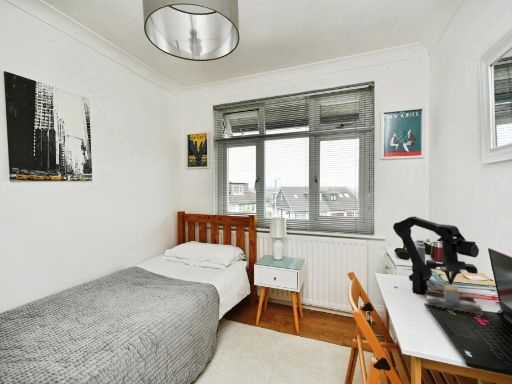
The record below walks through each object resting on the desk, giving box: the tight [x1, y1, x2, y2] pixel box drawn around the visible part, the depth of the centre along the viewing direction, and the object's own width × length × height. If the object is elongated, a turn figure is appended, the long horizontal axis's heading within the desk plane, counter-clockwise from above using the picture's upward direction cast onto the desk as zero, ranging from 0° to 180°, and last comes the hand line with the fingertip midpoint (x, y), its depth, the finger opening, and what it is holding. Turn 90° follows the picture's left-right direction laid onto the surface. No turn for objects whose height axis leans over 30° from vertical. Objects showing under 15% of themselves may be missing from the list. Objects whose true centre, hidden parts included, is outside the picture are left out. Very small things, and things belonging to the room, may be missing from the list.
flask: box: [413, 239, 426, 264], centre depth 144 cm, size 17×5×25 cm, turn 153°
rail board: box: [424, 289, 484, 316], centre depth 115 cm, size 20×13×3 cm, turn 60°
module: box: [442, 284, 460, 305], centre depth 115 cm, size 5×7×6 cm
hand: (450, 284), depth 115 cm, fingers closed
